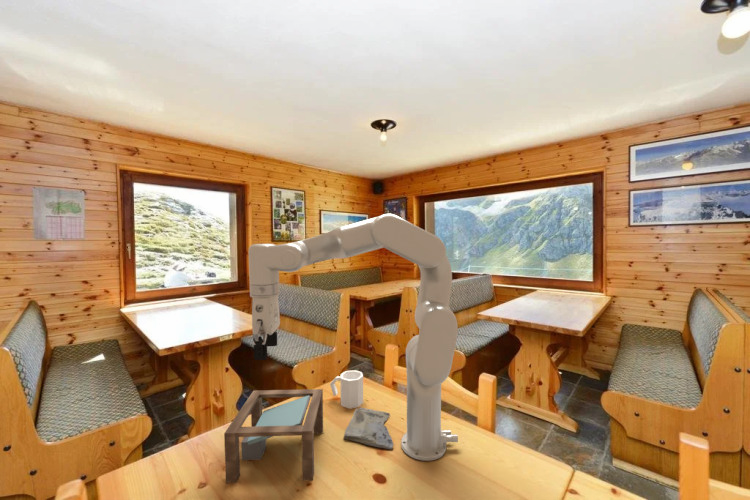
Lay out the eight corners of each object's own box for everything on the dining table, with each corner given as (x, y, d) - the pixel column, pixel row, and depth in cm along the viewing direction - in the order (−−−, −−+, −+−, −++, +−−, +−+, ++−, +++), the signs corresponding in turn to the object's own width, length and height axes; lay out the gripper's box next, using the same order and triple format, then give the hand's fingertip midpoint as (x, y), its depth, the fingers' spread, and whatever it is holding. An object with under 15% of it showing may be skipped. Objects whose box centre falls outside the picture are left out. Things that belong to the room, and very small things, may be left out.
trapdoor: (311, 397, 97) (310, 394, 97) (302, 426, 83) (301, 422, 83) (265, 413, 97) (263, 410, 97) (248, 445, 83) (247, 441, 83)
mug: (365, 397, 120) (365, 371, 119) (360, 409, 111) (360, 381, 111) (334, 394, 122) (334, 368, 122) (326, 406, 114) (326, 378, 113)
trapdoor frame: (323, 428, 101) (322, 389, 100) (312, 480, 80) (311, 431, 79) (254, 430, 100) (253, 390, 100) (225, 482, 79) (224, 433, 79)
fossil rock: (354, 412, 111) (354, 405, 111) (398, 416, 108) (398, 409, 108) (340, 445, 94) (340, 437, 94) (392, 451, 91) (392, 443, 91)
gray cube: (265, 430, 92) (247, 430, 92) (260, 441, 87) (241, 442, 87) (266, 447, 93) (248, 447, 92) (260, 459, 88) (241, 460, 87)
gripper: (269, 296, 79) (271, 365, 80) (286, 284, 96) (287, 341, 97) (238, 296, 79) (240, 365, 80) (260, 284, 96) (262, 341, 97)
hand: (266, 352), depth 89 cm, fingers open, 9 cm apart
